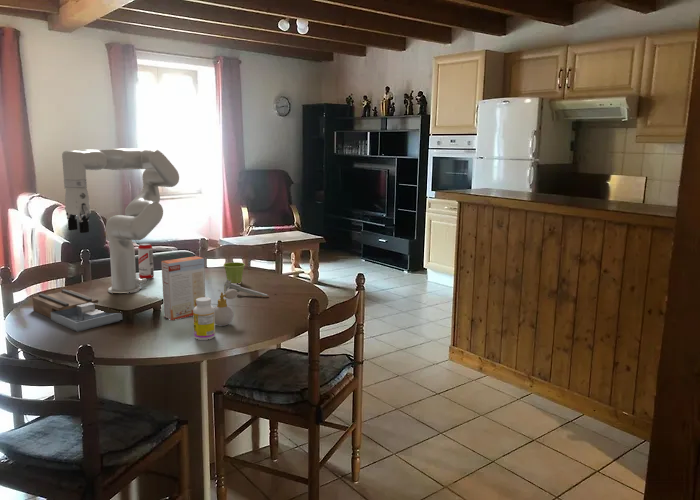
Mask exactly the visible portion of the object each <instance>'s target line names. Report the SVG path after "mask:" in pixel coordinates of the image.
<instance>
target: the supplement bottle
mask: <svg viewBox="0 0 700 500" xmlns="http://www.w3.org/2000/svg"><path fill="white" fill-rule="evenodd" d="M196 304H197V306H196V307H195V308H194V309H193V316H192V317H193V337H194V339H195V338H196V340H197V339H198V341H209V340H211V339H213V338H215V336H216V324H215V312H214V308H215V307H214V306H213V305H212V298H211V297H208V296H205V297H201V298H197V299H196ZM208 339H209V340H208Z"/></svg>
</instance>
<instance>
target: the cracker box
mask: <svg viewBox="0 0 700 500" xmlns="http://www.w3.org/2000/svg"><path fill="white" fill-rule="evenodd" d="M205 275H206V274H205V258H204V257H200V256H198V255H195V256H189V257H181V258H176V259H175V258H174V259H168V260H161V279H162V280H161V281H162V295H163V296H162V298H163V299H162V301H163V314H164V315H163V316H164V318H165V317H166V319H167V318H168V319H167V320H169V319H170V321H175V319H177V320H180V318H181V319H184V318H189V316H190V317H193V309H194V308H195V307H196V306H197V304H196V299H197V298H201V297H206V276H205Z"/></svg>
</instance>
